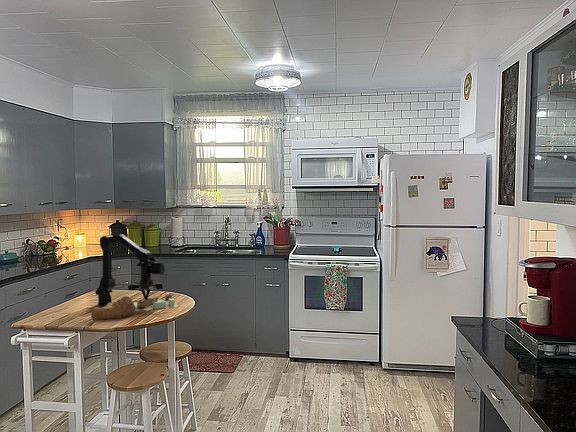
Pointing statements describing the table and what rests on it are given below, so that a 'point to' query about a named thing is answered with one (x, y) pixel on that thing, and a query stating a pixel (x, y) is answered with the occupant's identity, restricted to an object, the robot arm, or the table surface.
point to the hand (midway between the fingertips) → (146, 301)
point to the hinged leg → (147, 302)
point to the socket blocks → (164, 303)
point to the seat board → (158, 301)
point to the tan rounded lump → (115, 310)
